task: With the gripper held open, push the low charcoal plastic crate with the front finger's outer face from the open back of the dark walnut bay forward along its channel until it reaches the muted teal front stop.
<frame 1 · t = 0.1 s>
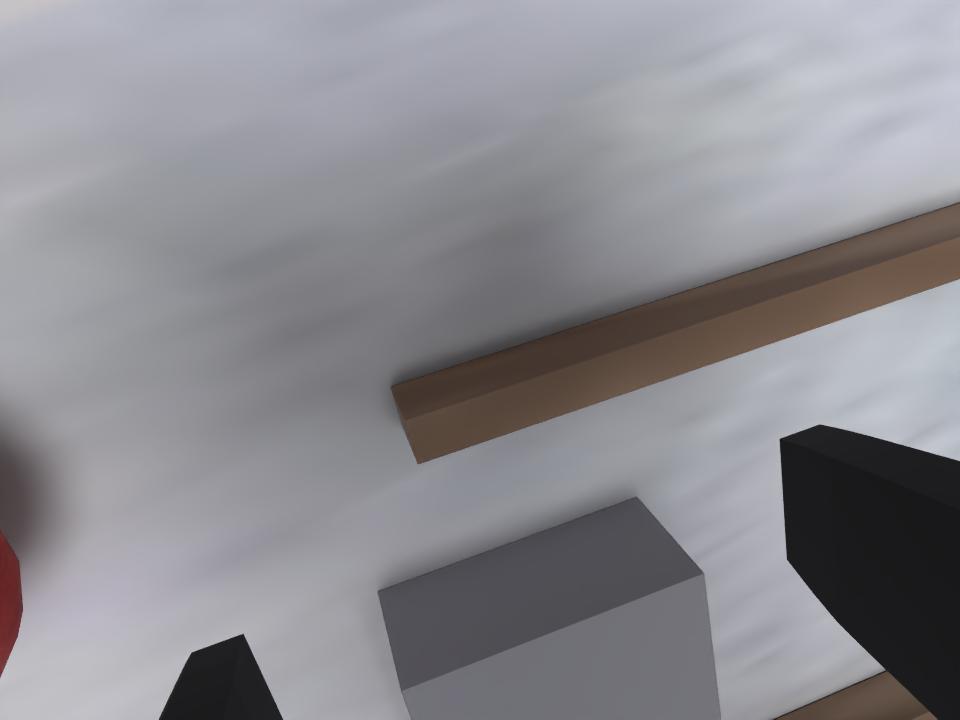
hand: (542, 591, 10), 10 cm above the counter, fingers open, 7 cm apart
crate: (530, 626, 24), on the counter
bay: (736, 554, 24), on the counter
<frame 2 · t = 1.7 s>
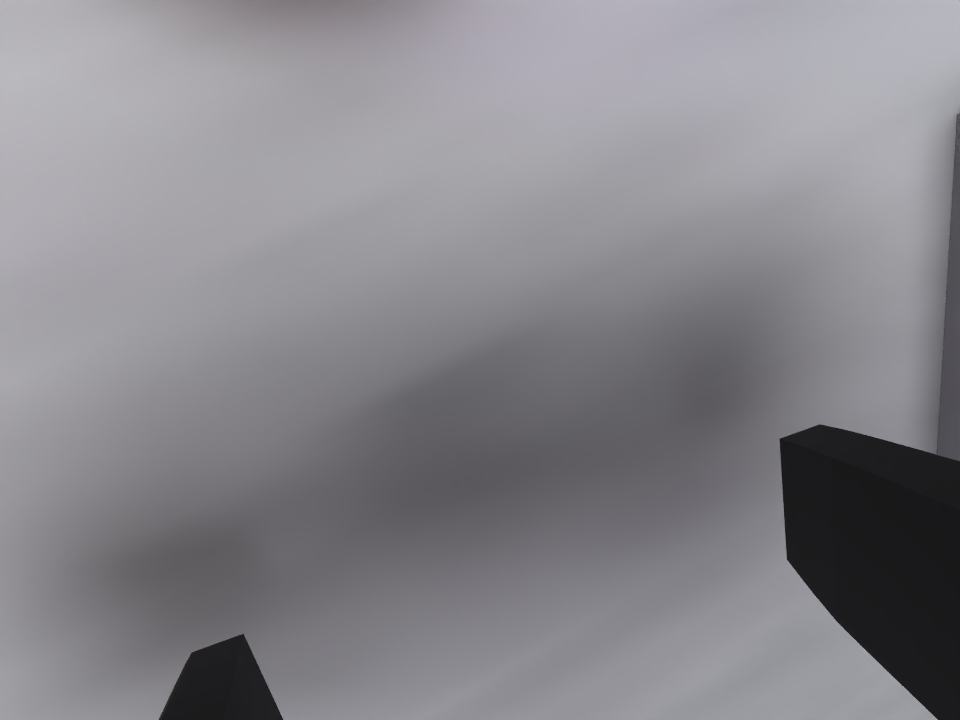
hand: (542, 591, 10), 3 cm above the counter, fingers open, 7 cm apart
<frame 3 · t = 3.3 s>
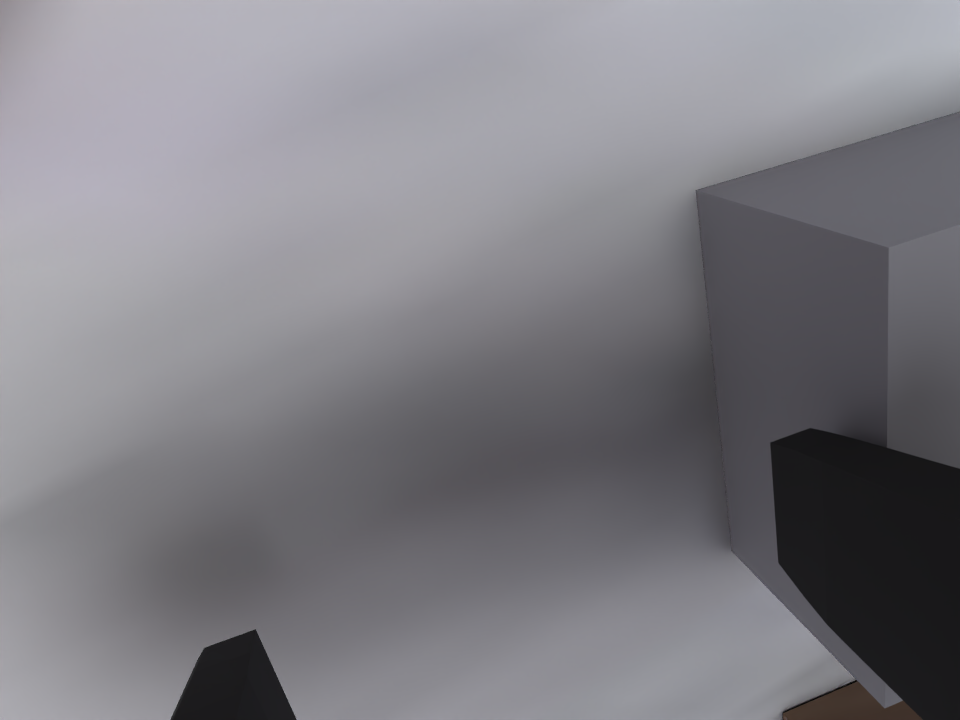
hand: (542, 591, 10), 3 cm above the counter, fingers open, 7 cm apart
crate: (910, 320, 14), on the counter, touching gripper
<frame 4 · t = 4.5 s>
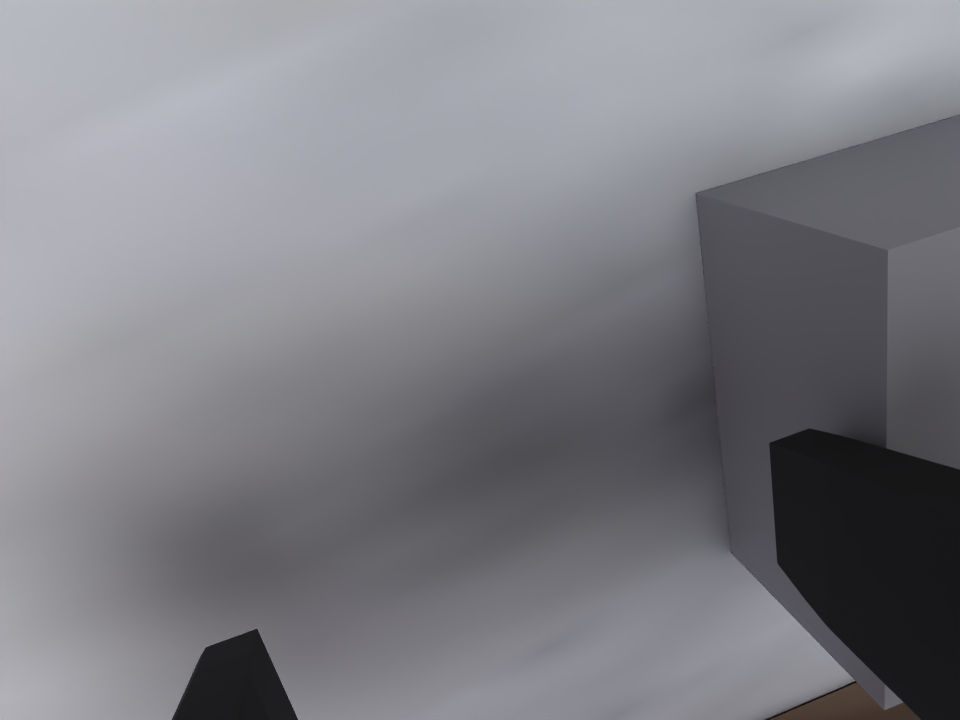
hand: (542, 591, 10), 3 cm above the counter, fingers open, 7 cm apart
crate: (909, 322, 14), on the counter, touching gripper
bay: (860, 349, 13), on the counter
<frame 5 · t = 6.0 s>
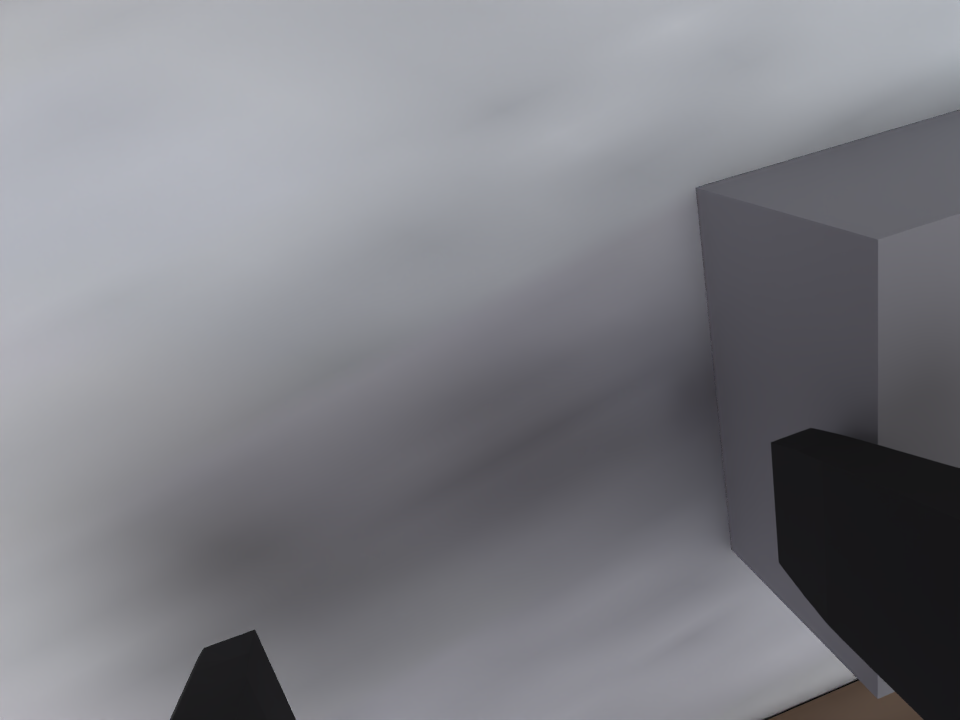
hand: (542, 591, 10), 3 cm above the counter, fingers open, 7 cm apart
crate: (904, 316, 14), on the counter
bay: (622, 430, 13), on the counter
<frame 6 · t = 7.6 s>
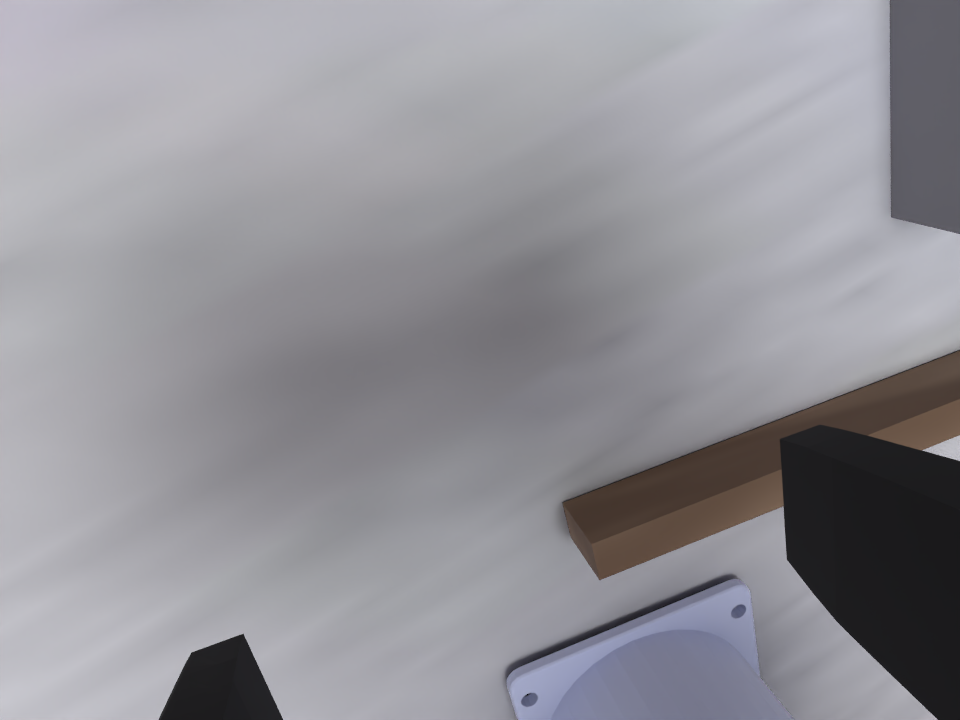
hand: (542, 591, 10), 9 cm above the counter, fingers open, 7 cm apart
bay: (831, 112, 19), on the counter
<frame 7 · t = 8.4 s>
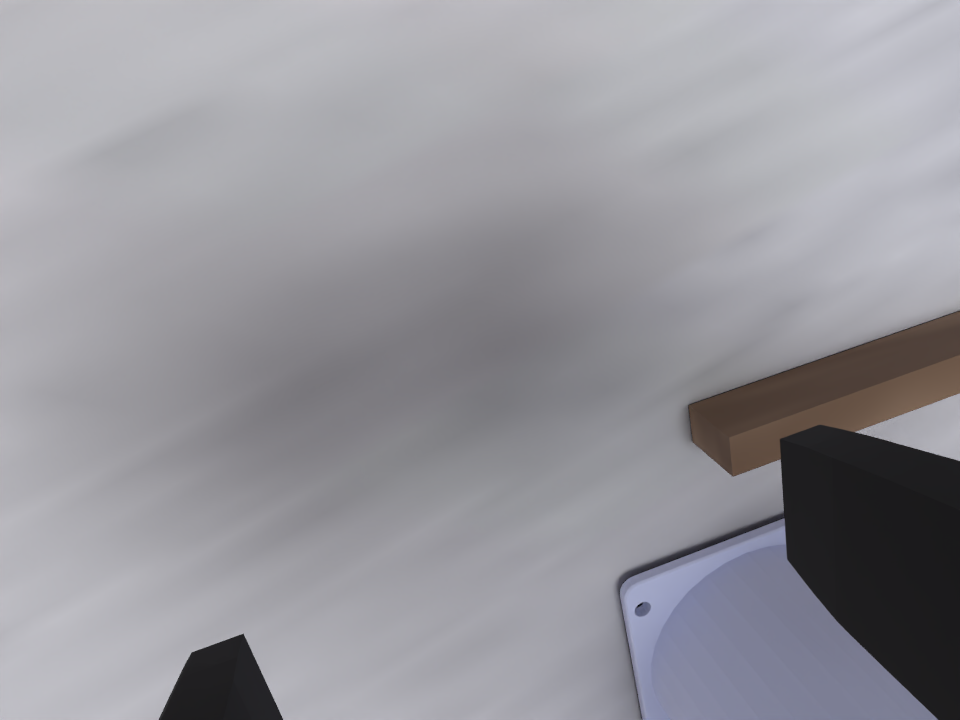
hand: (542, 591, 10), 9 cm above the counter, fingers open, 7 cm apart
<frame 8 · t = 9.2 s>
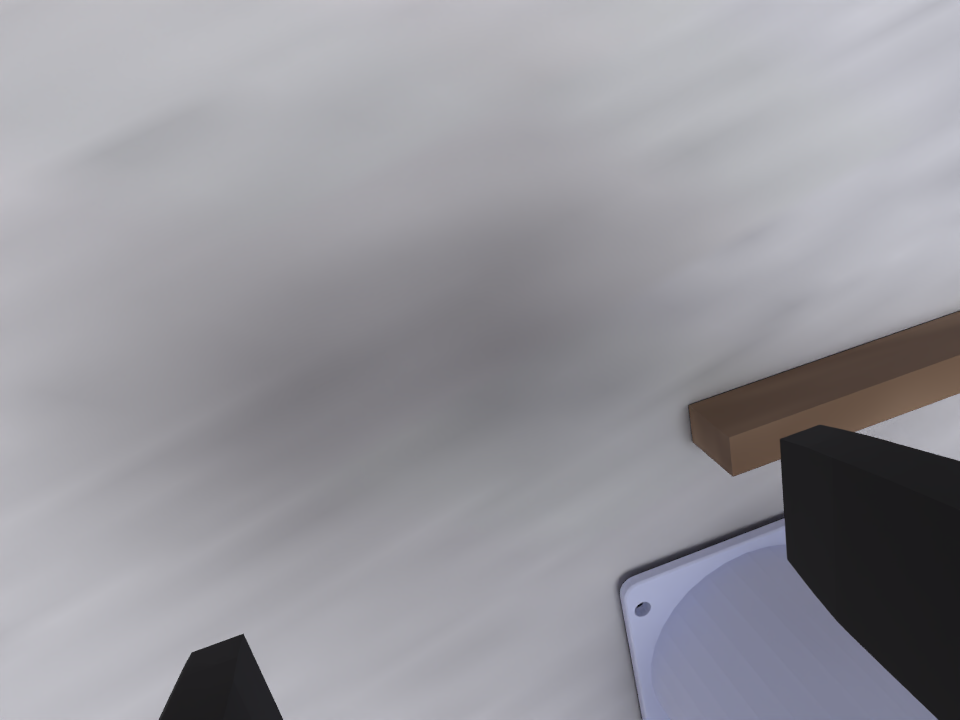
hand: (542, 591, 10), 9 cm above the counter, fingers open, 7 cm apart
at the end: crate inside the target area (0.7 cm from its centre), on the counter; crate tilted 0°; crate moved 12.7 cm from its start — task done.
